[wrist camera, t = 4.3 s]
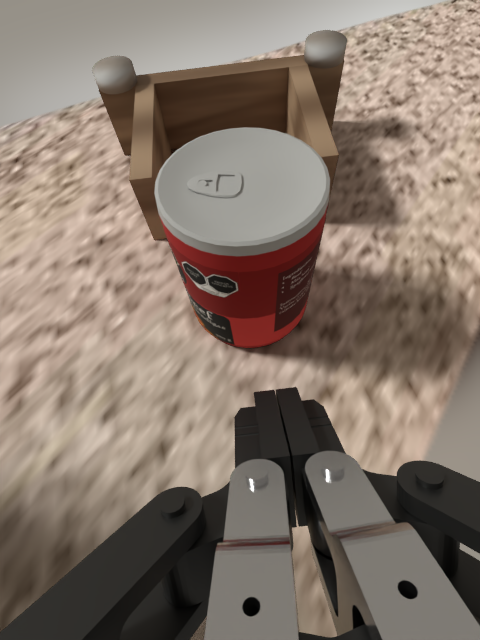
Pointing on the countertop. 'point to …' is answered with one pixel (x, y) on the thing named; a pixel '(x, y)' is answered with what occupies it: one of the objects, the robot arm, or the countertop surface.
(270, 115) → the bracket
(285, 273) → the canned food
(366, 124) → the countertop surface
